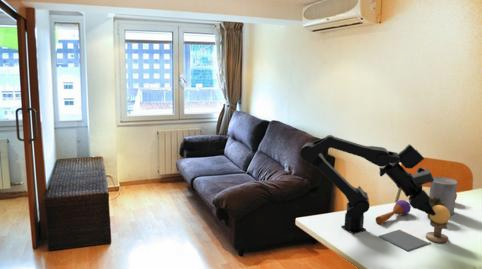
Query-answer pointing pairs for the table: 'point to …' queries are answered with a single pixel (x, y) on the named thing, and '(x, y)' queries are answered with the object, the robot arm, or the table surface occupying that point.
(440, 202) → the cup
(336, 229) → the table surface
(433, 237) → the ball tee
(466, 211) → the table surface
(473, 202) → the table surface
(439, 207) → the rubber ball
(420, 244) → the mat
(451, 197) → the pillar candle
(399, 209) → the kendama
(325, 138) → the robot arm
